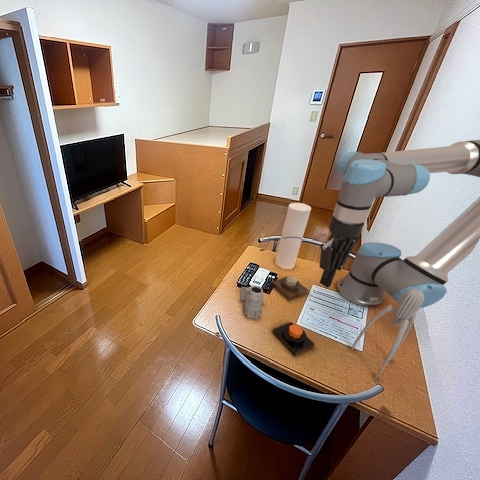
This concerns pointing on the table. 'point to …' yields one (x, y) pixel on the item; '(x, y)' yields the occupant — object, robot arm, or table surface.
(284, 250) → the container
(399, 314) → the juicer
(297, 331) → the orange button
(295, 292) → the brown button base
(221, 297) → the table surface
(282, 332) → the dark button base
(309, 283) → the table surface
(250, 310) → the grey pipe fitting
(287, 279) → the cream button
